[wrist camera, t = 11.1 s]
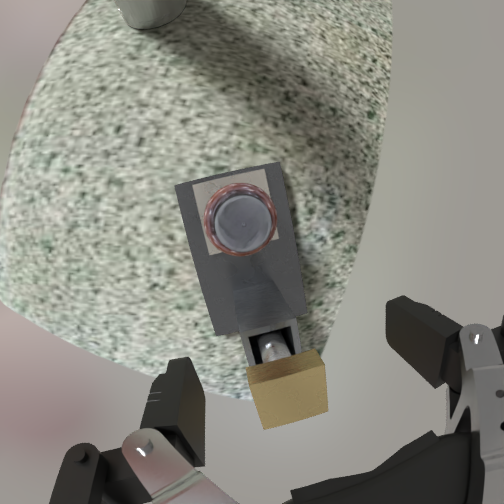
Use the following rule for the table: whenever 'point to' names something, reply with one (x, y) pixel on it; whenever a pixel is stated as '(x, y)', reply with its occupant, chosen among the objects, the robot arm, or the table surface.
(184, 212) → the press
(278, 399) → the plunger
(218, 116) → the table surface
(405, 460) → the robot arm
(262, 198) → the supplement bottle
